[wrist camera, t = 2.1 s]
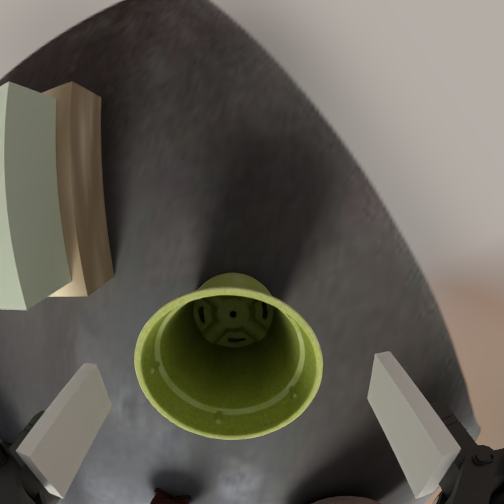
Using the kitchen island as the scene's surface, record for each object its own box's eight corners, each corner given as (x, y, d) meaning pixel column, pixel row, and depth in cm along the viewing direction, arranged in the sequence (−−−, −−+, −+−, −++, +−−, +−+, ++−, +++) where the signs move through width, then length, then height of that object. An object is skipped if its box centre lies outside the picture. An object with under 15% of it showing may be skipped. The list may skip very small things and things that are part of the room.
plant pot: (161, 255, 21) (112, 297, 13) (291, 241, 21) (322, 277, 13) (184, 365, 23) (161, 440, 15) (299, 355, 23) (321, 429, 15)
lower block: (4, 279, 22) (-28, 295, 17) (-9, 140, 19) (-43, 137, 14) (116, 274, 22) (87, 296, 17) (103, 98, 19) (72, 81, 14)
